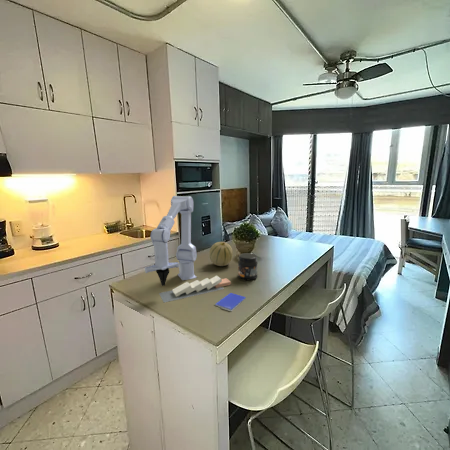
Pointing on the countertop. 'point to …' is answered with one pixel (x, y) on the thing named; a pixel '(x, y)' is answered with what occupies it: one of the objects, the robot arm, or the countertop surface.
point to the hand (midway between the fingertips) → (163, 284)
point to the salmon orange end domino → (223, 283)
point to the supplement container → (247, 266)
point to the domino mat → (171, 296)
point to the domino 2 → (194, 286)
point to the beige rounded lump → (221, 254)
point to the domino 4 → (214, 281)
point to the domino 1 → (181, 289)
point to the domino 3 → (204, 284)
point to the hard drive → (230, 301)
